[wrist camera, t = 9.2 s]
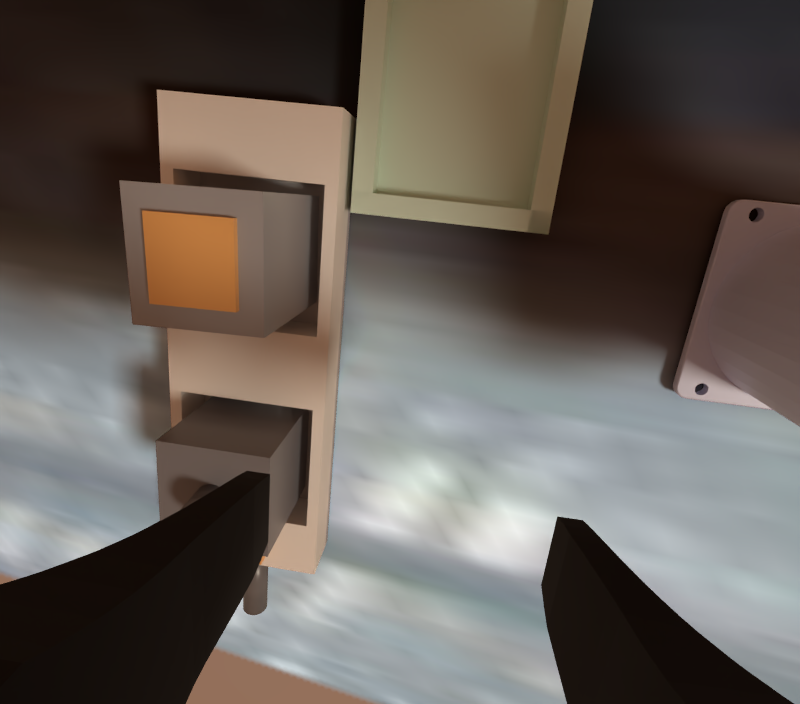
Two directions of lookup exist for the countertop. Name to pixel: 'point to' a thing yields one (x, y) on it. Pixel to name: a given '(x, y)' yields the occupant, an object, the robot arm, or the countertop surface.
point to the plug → (219, 257)
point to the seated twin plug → (234, 455)
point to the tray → (466, 109)
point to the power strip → (301, 336)
